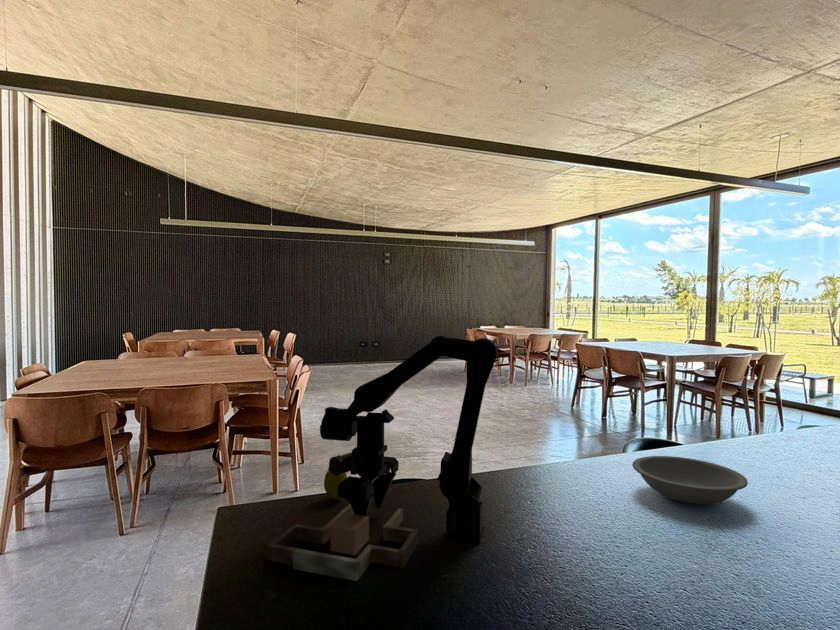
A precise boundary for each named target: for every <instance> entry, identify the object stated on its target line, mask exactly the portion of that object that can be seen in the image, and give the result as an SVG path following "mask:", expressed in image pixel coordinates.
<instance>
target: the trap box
mask: <svg viewBox="0 0 840 630" xmlns="http://www.w3.org/2000/svg"><path fill="white" fill-rule="evenodd" d="M346 513H349V514H354V512H353V509H352V506H351V504H350V503H349V504H348V505H346V506H345V507H344V508H343V509H342V510H341V511H340V512H339V513H338V514H336V515H335V516H334V517H333V518H332V519H330V521H328V522H327V523H326V524H325V525H324V526H323V527H316V526H311V525H304V524H300V523H299V524H298V523H294V524H293V525H291V527H289V528H288V529H287V530H285V531H283V532H282V533H281V534H280V535H279V536H277V537H276V538H275V539H274V540H272V541H271V542H270V543H269V544H267V545H266V561H268V562H274V563H279V564H285V565H290V566H292V569H293V570H296V571H297V570H298V571H302V572H307V573H313V574H317V575H323V576H327V577H328V576H329V577H333V578H338V579H345V580H350V581H354V582H358V580H359V579H360V578H361V577H362V575H363V574H364V573H365V571H366V570H367V568H369V566H370V565H371V563H375V564H380V565H385V566H389V567H390V566H391V567H396V568H402V569H404V568H405V566H406V564H407V563H408V561H409V560H410V558H411V557H412V555H413V553H414V551H415V550H416V548H417V547H418V545H419V543H420V542H419V538H420V535H419V533H420V529H416V528H409V527H401V526H400V525H401V524H402V522H404V520H403V518H404V515H403V514H404V509H403V508H399V507H398V508H397V509H396V511H395V512H394V513H393V514H392V515H391V517H390V518H389V519H388V520H387V521H386V523H385V524H384V525H383V526H382V541H387V542H393V543H399V544H402V546H401V548H400V549H398V548H394V547H393V548H392V547H387V546H382V545H381V546H380V545H374V544H369V543H368V544H367V545H366V547H365V548H364V549H363V550H362V552H361V553H360V554H359V555H358V556H357V557H356V558H353V557H352V558H351V557H347V556H343V555H342V556H341V555H335V554H331V553H326V552H325V553H324V552H317V551H312V550H309V549H308V550H307V549H303V548H298V547H292V546H291V545H292V544H293V543H294V542H295V541H300V542H301V541H302V542H308V543H314V544H318V545H319V544H320V545H325V544H326V543H327V542H329V540H331V526H332V525H333V524H334V523H335V522H336V521H337V520H339V519H340V518H341V517H342V516H343V515H345V514H346Z"/></svg>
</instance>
